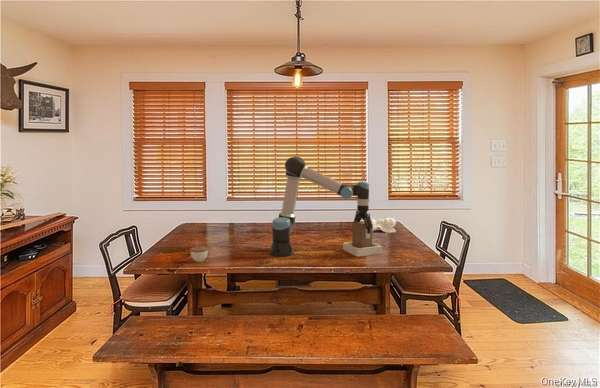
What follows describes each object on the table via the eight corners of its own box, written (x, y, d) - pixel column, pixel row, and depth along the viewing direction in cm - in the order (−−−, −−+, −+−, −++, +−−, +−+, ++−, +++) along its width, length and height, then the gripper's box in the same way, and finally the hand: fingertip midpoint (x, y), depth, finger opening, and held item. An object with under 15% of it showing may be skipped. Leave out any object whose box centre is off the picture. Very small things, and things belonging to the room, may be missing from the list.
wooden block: (351, 251, 273) (351, 222, 270) (362, 249, 278) (362, 220, 276) (361, 254, 264) (362, 224, 262) (372, 252, 270) (373, 223, 268)
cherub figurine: (370, 217, 344) (394, 215, 341) (371, 231, 344) (395, 229, 342) (371, 219, 331) (396, 217, 328) (372, 234, 332) (397, 232, 329)
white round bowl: (189, 259, 255) (188, 244, 254) (206, 257, 259) (205, 243, 258) (192, 263, 245) (191, 248, 244) (209, 261, 250) (209, 246, 249)
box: (343, 249, 277) (343, 242, 276) (366, 247, 284) (367, 240, 283) (357, 256, 259) (357, 249, 258) (382, 253, 266) (382, 246, 266)
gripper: (378, 207, 257) (377, 239, 260) (358, 202, 280) (357, 232, 283) (368, 207, 255) (367, 240, 257) (348, 202, 278) (348, 232, 280)
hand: (362, 236), depth 270 cm, fingers open, 13 cm apart
